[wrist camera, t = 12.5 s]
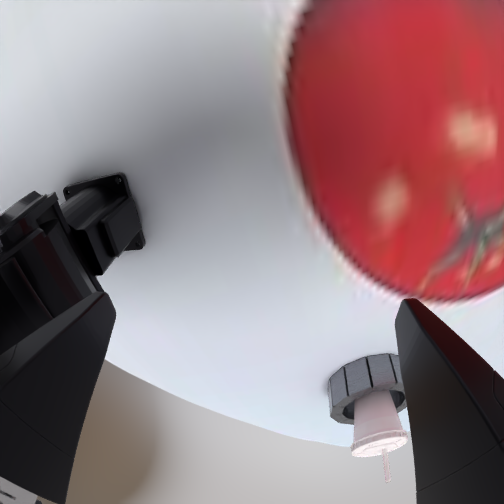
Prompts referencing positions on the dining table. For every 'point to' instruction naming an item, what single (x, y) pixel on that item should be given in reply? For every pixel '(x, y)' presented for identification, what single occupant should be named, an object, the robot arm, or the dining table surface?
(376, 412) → the smoothie
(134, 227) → the robot arm
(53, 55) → the dining table surface
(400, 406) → the stone ring
